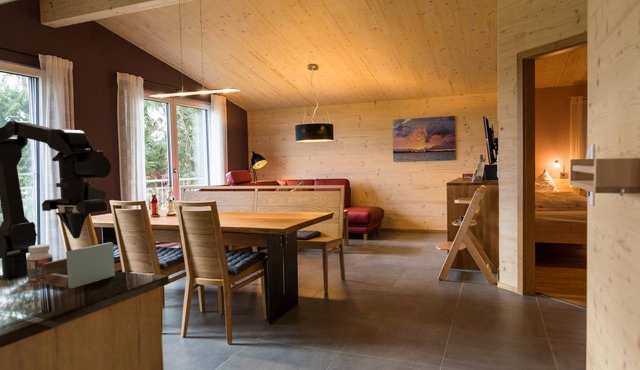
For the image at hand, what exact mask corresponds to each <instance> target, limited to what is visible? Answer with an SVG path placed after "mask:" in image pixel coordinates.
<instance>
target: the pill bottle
mask: <svg viewBox="0 0 640 370" xmlns="http://www.w3.org/2000/svg"><path fill="white" fill-rule="evenodd" d="M50 249H51V247H50V244H49V243H46V244H45V243H43V244H42V243H41V244H35V245H34V246H30V247H28V251H29V252H30V253H29V254H28V255H26V258H27V273H28V276H27V283H29V284H36V283H37V284H38V283H43V270H42V264H43V263H48V262H52V261H54V260H53V254H52V253H51V252H49V250H50Z"/></svg>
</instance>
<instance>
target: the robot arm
mask: <svg viewBox="0 0 640 370" xmlns="http://www.w3.org/2000/svg"><path fill="white" fill-rule="evenodd" d="M29 140H33V141H37V142H39V143H40V142H41V143H44V144H46V145H47V146H48V148H50V149H52V150H54V151H56V152H57V153H56V155H54V156H53V158H52V159H51V160H52V162H58V172H59V173H58V174H59V175H58V176H59V182H56V183H55V188H59V189H60V190H59V191H60V198H54V199H53V198H52V199H45V200H43V202H42V203H41V209H42V212H51V211H54V210H58V212H55V215H57V216H58V217H59V219H60V220H61V222H62V223H63V224H64V226H65V227H66V229H67V230H68V232H69V233H70V235H71V237H72V238H73V239H79V238H80V236H81V234H82V231H83V227H84V223H85V221H86V219H87V218H88V216H89V215H90V214H93V213H97V212H102V211H104V212H105V211H108V210H109V207H108V201H106V200H107V197H108V196H107V195H108V192H107V191H104V190H102V189H97V188H94V187H92V186H91V183H90V182H89V181H86V179H104V178H107V177H108V176H109V175H110V173H111V169H112V165H111V162H110V160H109V159H108V157H107V156H105V155H104V151H103V150H95V148H94V146H93V145H92V144H91V142H90V140H89V139H88V137H87V136H86V133H85V132H84V131H83V130H80V129H79V130H77V129H63V128H61V129H60V128H57V129H56V128H52V127H47V126H43V125H41V124H34V123H31V122H28V121H26V120H10V121H8V122H6V123H5V124H4V125H3V126H1V127H0V209H1V214H2V222H1V224H0V260H1V271H2V274H1V275H0V279H1V280H7V281H11V280H17V279H20V278H23V277H28V273H27V254H30V252H29V251H28V247H30V246H34V245H36V243H37V236H38V234H37V231H36V224H35V222H33V221H29V220H28V219H27V218H26V215H25V209H24V202H23V196H22V191H21V190H22V189H21V184H20V179H19V178H20V177H19V171H18V165H19V163H20V161H21V159H22V157H23V149H24V148H25V147H26V146H27V145H28V144H29V143H28V142H29Z"/></svg>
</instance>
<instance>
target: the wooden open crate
mask: <svg viewBox="0 0 640 370" xmlns="http://www.w3.org/2000/svg"><path fill="white" fill-rule="evenodd" d="M42 270H43V282H42V283H43V285H49V286H55V287H59V288H61V287H62V288H66V289H70V288H69V286H68V272H67V258H66V257H65V258H61V259H57V260H53V261H52V262H48V263H43V264H42Z"/></svg>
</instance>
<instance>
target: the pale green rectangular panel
mask: <svg viewBox="0 0 640 370" xmlns="http://www.w3.org/2000/svg"><path fill="white" fill-rule="evenodd" d="M65 252H66V253H65V258H67V272H68V286H69V288H68V289H74V288H78V287H82V286H85V285H88V284H91V283H95V282H98V281H102V280H105V279H108V278H112V277H115V276H116V273H115V272H116V271H115V256H114V243H113V242H110V241H109V242H105V243H101V244H95V245H90V246H86V247H82V248H77V249H71V250H67V251H65Z"/></svg>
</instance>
